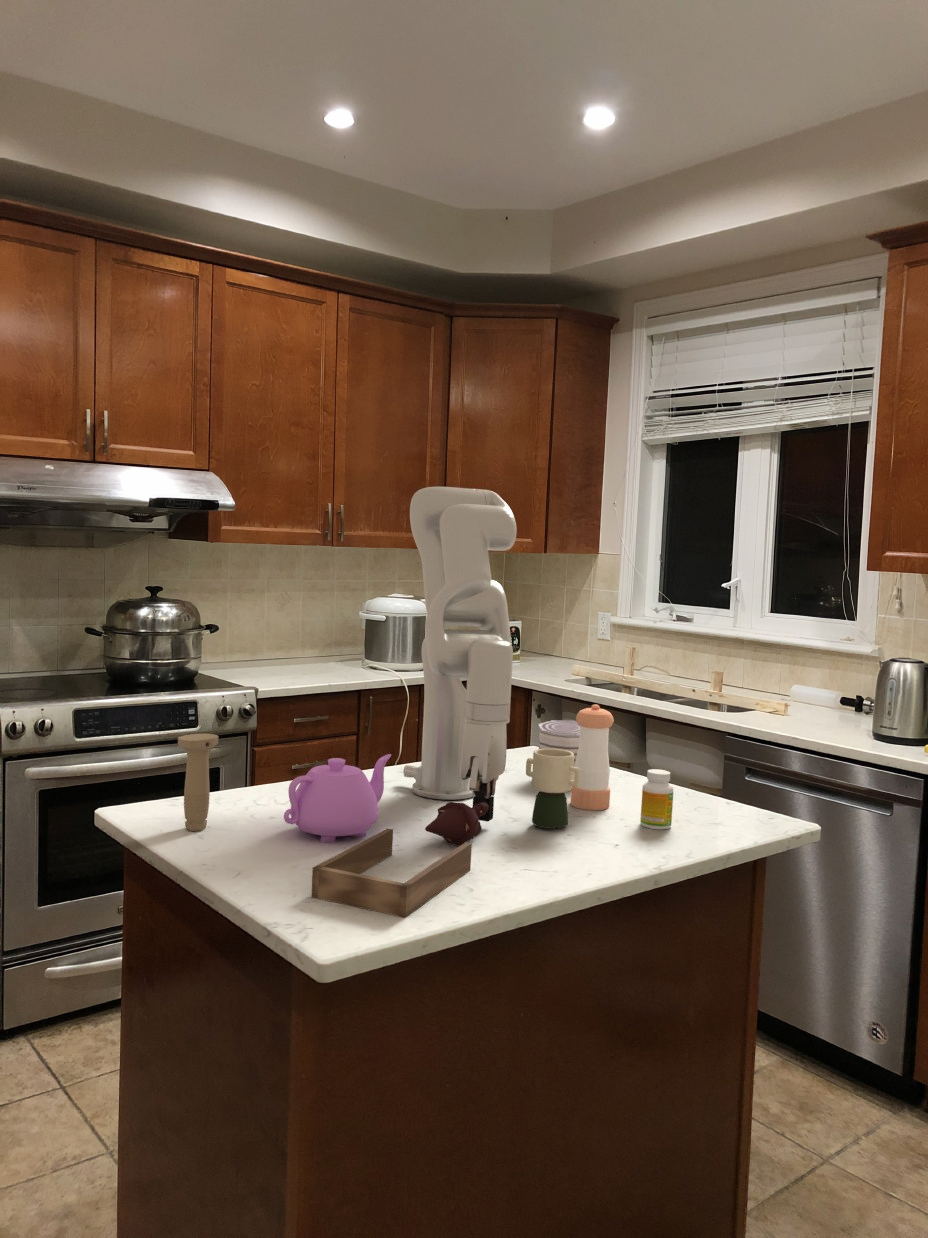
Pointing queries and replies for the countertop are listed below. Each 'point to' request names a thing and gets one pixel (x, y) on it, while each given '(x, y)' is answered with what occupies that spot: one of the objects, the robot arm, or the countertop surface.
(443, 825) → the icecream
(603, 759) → the salt shaker
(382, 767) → the teapot
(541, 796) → the character mug
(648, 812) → the supplement bottle
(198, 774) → the handle
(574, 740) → the can
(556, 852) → the countertop surface
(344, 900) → the frame
